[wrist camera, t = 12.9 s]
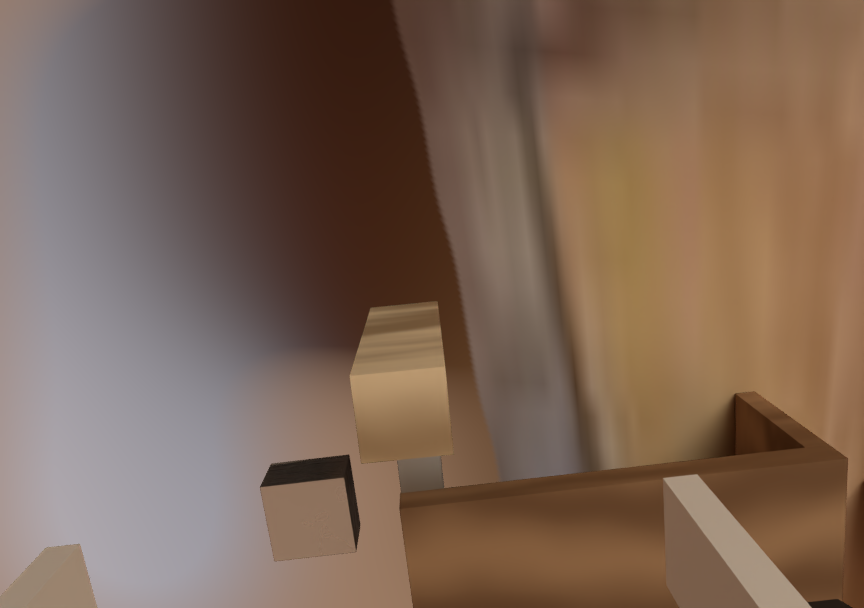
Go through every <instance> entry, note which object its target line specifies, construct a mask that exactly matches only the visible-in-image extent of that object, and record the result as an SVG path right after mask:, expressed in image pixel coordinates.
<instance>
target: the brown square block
mask: <svg viewBox="0 0 864 608" xmlns="http://www.w3.org/2000/svg"><path fill="white" fill-rule="evenodd" d="M260 490H261V496H262V500H263V505H264V511H265V516H266V521H267V526H268V531H269V536H270V541H271V546H272V551H273V556H274V561H283V560H292V559H300V558H309V557H318V556H326V555H335V554H344V553H351V552H356V549H357V542H358V537H359V531H360V519H359V512H358V506H357V499H356V493H355V487H354V481H353V475H352V468H351V462H350V456H349V455H340V456H331V457H323V458H314V459H306V460H297V461H288V462H280V463H272V464H271V465H270V467H269V469H268V471H267V473H266V476H265V478H264V480H263V482H262V484H261V486H260Z"/></svg>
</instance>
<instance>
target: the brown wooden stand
mask: <svg viewBox="0 0 864 608" xmlns="http://www.w3.org/2000/svg"><path fill="white" fill-rule="evenodd" d="M735 410H736V455H735V456H726V457H717V458H708V459H699V460H691V461H682V462H673V463H664V464H655V465H646V466H637V467H629V468H620V469H611V470H602V471H593V472H584V473H575V474H567V475H558V476H549V477H540V478H531V479H522V480H513V481H505V482H496V483H487V484H478V485H469V486H460V487H451V488H443V489H434V490H425V491H416V492H407V493H401V494H400V516H401V523H402V531H403V538H404V545H405V552H406V559H407V566H408V574H409V581H410V588H411V595H412V602H413V608H679V606H678V605H677V603H676V601H675V599H674V598H673V596H672V594H671V592H670V590H669V589H668V587H667V585H666V555H665V525H664V495H663V478H668V477H677V476H686V475H695V474H697V475H698V476H699V477H700V478H701V479H702V480H703V482H704V483H705V484H706V485H707V486H708V487H709V489H710V490H711V491H712V492H713V493H714V494H715V496H716V497H717V498H718V499H719V500H720V501H721V503H722V504H723V505H724V506H725V507H726V508H727V510H728V511H729V512H730V513H731V514H732V515H733V517H734V518H735V519H736V520H737V521H738V522H739V524H740V525H741V526H742V527H743V528H744V529H745V530H746V532H747V533H748V534H749V535H750V536H751V537H752V539H753V540H754V541H755V542H756V543H757V544H758V546H759V547H760V548H761V549H762V550H763V551H764V553H765V554H766V555H767V556H768V557H769V558H770V560H771V561H772V562H773V563H774V564H775V565H776V567H777V568H778V569H779V570H780V571H781V572H782V574H783V575H784V576H785V577H786V578H787V579H788V581H789V582H790V583H791V584H792V585H793V586H794V588H795V589H796V590H797V591H798V592H799V593H800V595H801V596H802V597H803V598H804V599H805V600H806V602H813V601H822V600H831V599H839V600H840V601H842V597H843V572H844V547H845V522H846V496H847V471H848V458H847V457H845V456H844V455H842V454H841V453H840V452H838V451H837V450H835V449H834V448H833V447H831V446H830V445H828V444H827V443H826V442H824V441H823V440H822V439H820V438H819V437H817V436H816V435H815V434H813V433H812V432H810V431H809V430H808V429H806V428H805V427H803V426H802V425H801V424H799V423H798V422H796V421H795V420H794V419H792V418H791V417H789V416H788V415H787V414H785V413H784V412H783V411H781V410H780V409H778V408H777V407H776V406H774V405H773V404H771V403H770V402H769V401H767V400H766V399H764V398H763V397H762V396H760V395H759V394H757V393H756V392H746V393H737V394H735Z"/></svg>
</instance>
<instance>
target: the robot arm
mask: <svg viewBox="0 0 864 608" xmlns="http://www.w3.org/2000/svg"><path fill="white" fill-rule="evenodd" d="M663 495H664V525H665V555H666V585H667V587H668V589H669V590H670V592H671V594H672V596H673V598H674V599H675V601H676V603H677V605H678V606H679V608H852V607H850V606H849V605H847V604H845V603H844V602H842V601H840V600H839V599H831V600H822V601H813V602H806V600H805V599H804V598H803V597H802V596H801V595H800V593H799V592H798V591H797V590H796V589H795V588H794V586H793V585H792V584H791V583H790V582H789V581H788V579H787V578H786V577H785V576H784V575H783V574H782V572H781V571H780V570H779V569H778V568H777V567H776V565H775V564H774V563H773V562H772V561H771V560H770V558H769V557H768V556H767V555H766V554H765V553H764V551H763V550H762V549H761V548H760V547H759V546H758V544H757V543H756V542H755V541H754V540H753V539H752V537H751V536H750V535H749V534H748V533H747V532H746V530H745V529H744V528H743V527H742V526H741V525H740V524H739V522H738V521H737V520H736V519H735V518H734V517H733V515H732V514H731V513H730V512H729V511H728V510H727V508H726V507H725V506H724V505H723V504H722V503H721V501H720V500H719V499H718V498H717V497H716V496H715V494H714V493H713V492H712V491H711V490H710V489H709V487H708V486H707V485H706V484H705V483H704V482H703V480H702V479H701V478H700V477H699V476H698V475H697V474H695V475H686V476H677V477H668V478H663ZM0 608H97V605H96V601H95V598H94V594H93V590H92V587H91V583H90V579H89V576H88V572H87V568H86V565H85V561H84V557H83V554H82V550H81V546H80V544H74V545H65V546H57V547H47V548H45V549H44V550H43V551H42V553H41V554H40V555H39V556H38V557H37V558H36V559H35V560H34V561H33V562H32V563H31V564H30V565H29V566H28V567H27V569H26V570H25V571H24V572H23V573H22V574H21V575H20V576H19V577H18V578H17V579H16V580H15V581H14V582H13V583H12V584H11V585H10V587H9V588H8V589H7V590H6V591H5V592H4V593H3V594H2V595H1V596H0Z"/></svg>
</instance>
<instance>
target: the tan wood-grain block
mask: <svg viewBox="0 0 864 608" xmlns="http://www.w3.org/2000/svg"><path fill="white" fill-rule="evenodd" d="M349 377H350V384H351V391H352V399H353V406H354V413H355V421H356V429H357V436H358V443H359V451H360V458H361V463H362V464H363V463H373V462H383V461H394V460H397V463H398V470H399V479H400V487H401V493H407V492H416V491H425V490H434V489H443V488H444V483H443V473H442V463H441V456H444V455H454V452H453V442H452V432H451V422H450V411H449V401H448V391H447V380H446V370H445V361H444V353H443V344H442V337H441V327H440V319H439V311H438V303H437V301H434V302H424V303H414V304H404V305H394V306H384V307H375V308H370V312H369V315H368V318H367V321H366V324H365V328H364V331H363V334H362V337H361V340H360V344H359V347H358V350H357V353H356V357H355V360H354V363H353V366H352V369H351V373H350V376H349Z"/></svg>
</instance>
